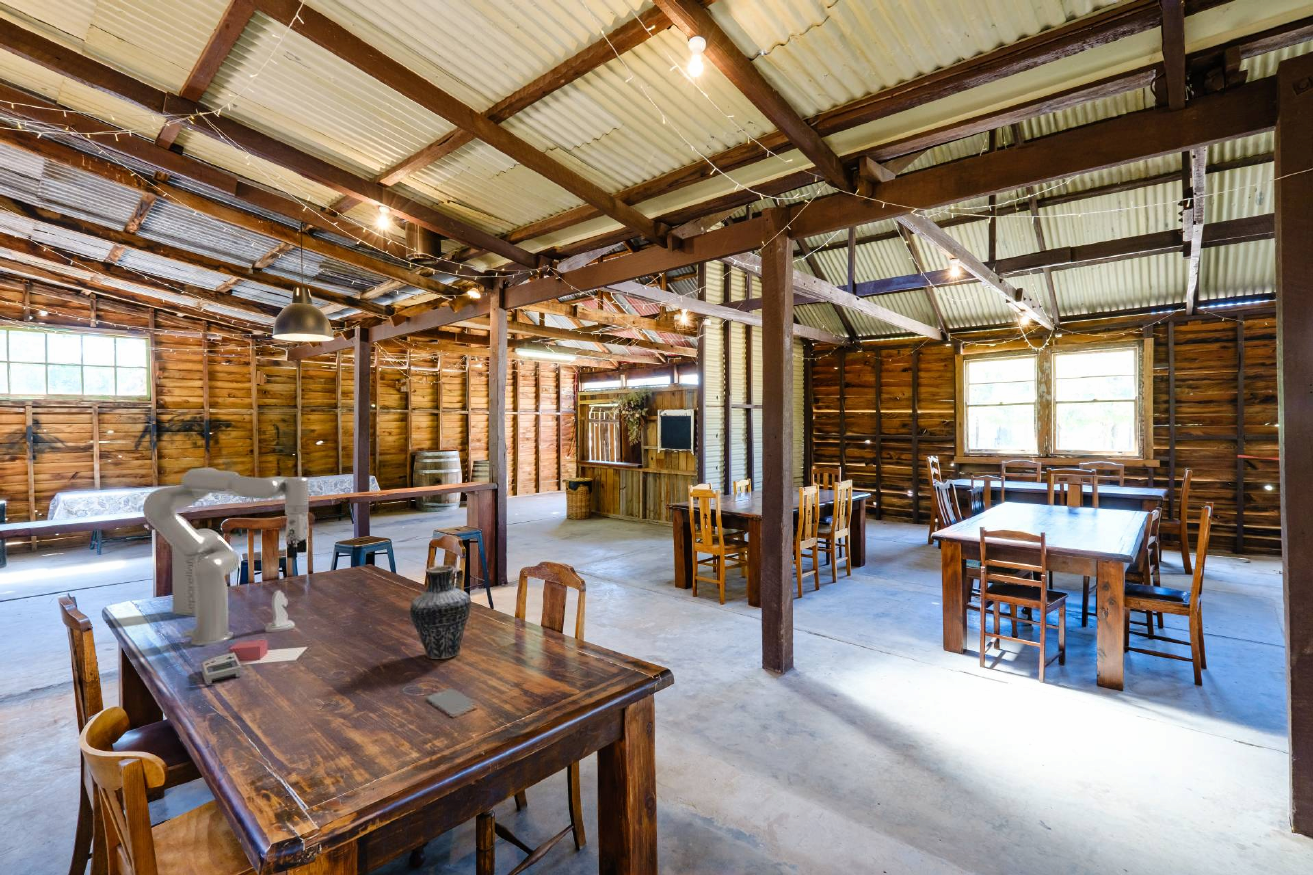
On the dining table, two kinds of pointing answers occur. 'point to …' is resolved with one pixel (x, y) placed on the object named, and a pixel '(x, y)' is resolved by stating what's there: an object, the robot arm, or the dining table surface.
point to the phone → (451, 701)
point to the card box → (249, 650)
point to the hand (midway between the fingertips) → (297, 555)
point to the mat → (278, 655)
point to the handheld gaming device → (221, 667)
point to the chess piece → (279, 614)
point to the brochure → (183, 584)
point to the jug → (441, 612)
